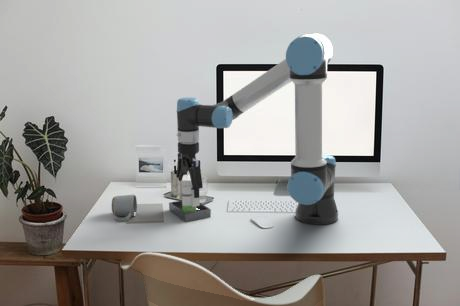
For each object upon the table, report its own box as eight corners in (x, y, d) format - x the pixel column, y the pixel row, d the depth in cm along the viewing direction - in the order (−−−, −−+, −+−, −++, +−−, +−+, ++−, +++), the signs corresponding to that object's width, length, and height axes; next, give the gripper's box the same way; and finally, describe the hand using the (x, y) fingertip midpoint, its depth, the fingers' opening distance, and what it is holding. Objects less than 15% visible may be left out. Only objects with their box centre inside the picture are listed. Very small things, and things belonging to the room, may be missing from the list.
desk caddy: (193, 205, 216) (193, 198, 215) (210, 217, 204) (210, 209, 203) (169, 210, 211) (169, 202, 210) (185, 222, 199) (185, 214, 198)
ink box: (195, 212, 203) (195, 181, 200) (181, 212, 203) (181, 181, 200) (197, 204, 211) (196, 174, 208) (183, 204, 211) (183, 174, 208)
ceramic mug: (115, 211, 209) (114, 191, 207) (137, 211, 210) (136, 191, 208) (109, 222, 199) (108, 202, 197) (133, 222, 199) (132, 202, 197)
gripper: (166, 136, 208) (167, 195, 214) (192, 149, 189) (193, 212, 195) (184, 134, 212) (185, 191, 217) (212, 146, 193) (212, 209, 199)
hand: (189, 201), depth 206 cm, fingers closed on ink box, 9 cm apart
